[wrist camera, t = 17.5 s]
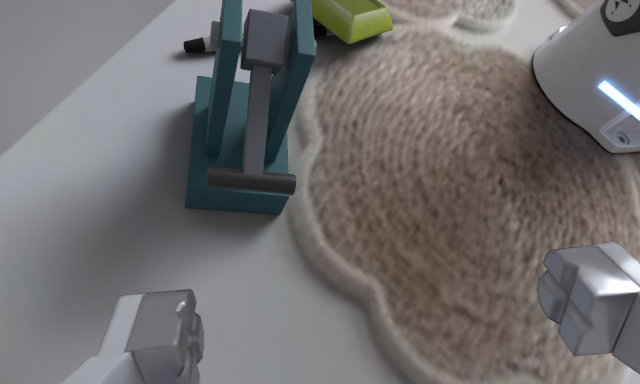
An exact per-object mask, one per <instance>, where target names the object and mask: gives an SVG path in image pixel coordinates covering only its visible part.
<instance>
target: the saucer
mask: <svg viewBox="0 0 640 384" xmlns="http://www.w3.org/2000/svg"><path fill="white" fill-rule="evenodd" d="M291 1H292V2H293V3H294V0H291ZM307 1H311V3H312V17H313V18H314V19H315V20H317V21H318V22H319V23H321V24H322V25H323V26H325V27H326V28H327V29H328V30H330V31H331V32H332V33H334V34H335V35H336V36H338V37H339V38H340V39H341V40H343V41H344V42H346V43H348V44H351V43H355V42H358V41H360V40H363V39H366V38H369V37H372V36H375V35H378V34H381V33H384V32H387V31H390V30H392V29H393V26H392V21H391V17H390V14H389V12H388V10H387V8H386V7H385V6H384V5H383V4H382V3H380V2H379V1H377V0H307Z"/></svg>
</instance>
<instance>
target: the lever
mask: <svg viewBox="0 0 640 384" xmlns="http://www.w3.org/2000/svg"><path fill="white" fill-rule="evenodd" d="M287 27H288V16H285V15H280V14H275V13H270V12H265V11H260V10H255V9H250V10H249V12H248V15H247V18H246V21H245V24H244V34H243V45H242V56H241V67H240V68H241V69H243V70H250V71H251V74H250V85H249V96H248V108H247V119H246V130H245V141H244V152H243V164H242V169H232V168H222V167H212V166H208V169H207V178H206V187H207V188H219V189H230V190H242V191H253V192H264V193H276V194H287V195H293V194H294V192H295V187H296V177H295V175H292V174H282V173H272V172H263V167H264V156H265V144H266V133H267V122H268V110H269V99H270V88H271V77H272V74H275V75H276V74H277V73H278V72H279V70H280V69H281V68H282V66H283V65H284V61H285V50H286V38H287Z"/></svg>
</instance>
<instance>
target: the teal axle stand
mask: <svg viewBox="0 0 640 384" xmlns="http://www.w3.org/2000/svg"><path fill="white" fill-rule="evenodd" d="M241 32H242V0H223V2H222V9H221V17H220V22H216V21H212V25H211V34H210V47H214V48H216V54H215V62H214V69H213V77H212V78H210V77H203V76H197V85H196V96H195V107H194V118H193V129H192V140H191V151H190V162H189V173H188V184H187V195H186V206H185V207H186V208H196V209H209V210H222V211H236V212H249V213H262V214H276V215H280V214H281V212H282V210H283V208H284V206H285V204H286V202H287V200H288V198H289V195H287V194H276V193H264V192H253V191H242V190H230V189H219V188H207V187H206V178H207V169H208V166H212V167H222V168H232V169H242V164H243V152H244V141H245V130H246V119H247V108H248V96H249V85H250V84H249V83H243V82H236V81H234V78H235V72H236V67H237V62H238V57H239V52H240V46H241ZM316 47H317V45H316V41H315V40H314V30H313V17H312V3H311V1H307V0H294V4H293V7H292V11H291V14H290V18H289V21H288V27H287V38H286V50H285V61H284V65H283V66H282V68H281V69H280V70H279V72H278V73H277V74H276V75H275V74H273V76H272V79H271V88H270V99H269V110H268V122H267V133H266V144H265V156H264V167H263V172H272V173H282V174H288V146H287V129H288V126H289V123H290V121H291V118H292V116H293V113H294V110H295V108H296V105H297V103H298V100H299V97H300V95H301V92H302V90H303V87H304V84H305V82H306V79H307V77H308V74H309V72H310V69H311V66H312V64H313V61H314V59H315V55H316Z"/></svg>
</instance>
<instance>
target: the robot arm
mask: <svg viewBox="0 0 640 384" xmlns="http://www.w3.org/2000/svg"><path fill="white" fill-rule="evenodd" d="M533 68H534V72H535V75H536V78H537V81H538V83H539V85H540V86H541V88H542V90H543V91H544V93H545V94H546V96H547V97H548V98H549V100H550V101H551V102H552V103H553V104H554V105H555V106H556V107H557V108H558V109H559V110H560V111H561V112H562V113H563V114H564V115H565V116H567V117H568V118H569V119H570V120H572V121H573V122H575V123H576V124H578V125H579V126H581V127H582V128H584V129H585V130H586V131H588V132H589V133H590V134H591V135H592V136H593V137H594V138H595V139H596V140H597V141H598V142H599V143H600V144H601V145H602V146H603V147H604V148H605V149H606V150H608V151H609V152H611V153H624V152H638V151H640V0H596V1H595V2H594V3H593V4H591V5H590V6H589V7H588V8H587V9H586V10H585V11H583V12H582V13H581V14H580V15H579V16H578V17H577V18H575V19H574V20H573V21H572V22H571V23H570V24H569V25H568V26H562V27H560V28H559V29H558V30H557V31H556V32H555V33H554V34H553V36H552V39H551V40H549V41H548V42H546V43H545V44H543V45H542V46H540V47H539V48H538V49H537V50H536V52H535V54H534V58H533ZM543 264H544V266H545V267H546V269H547V271H546V272H545V273H544V274H543V275H542V276H541V277H540V278H539V280H538V285H537V295H538V301H539V304H540V306H541V308H542V310H543V312H544V313H545V315H546V316H547V318H549V319H551V320H552V321H554V322H556V323H557V324H559V330H558V334H559V335H560V337H561V338H562V339H563V341H564V342H565V344H566V345H567V347H568V348H569V349H570V351H571V352H572V354H573V355H574V357H576V356H586V355H597V354H608V353H612V355H613V356H614V357H616V358H617V359H618V360H620V361H621V362H623V363H624V364H626V365H627V366H629V367H630V368H631V369H633V370H634V371H636V372H637V373H639V374H640V263H639V262H638V261H637V260H636V259H635V258H634V257H633V256H632V255H631V254H630V253H629V252H628V251H626V250H625V249H624V248H623V247H622V246H621V245H619V244H617V243H615V242H609V243H601V244H593V245H587V246H579V247H570V248H562V249H553V250H549V251H548V252H547V253H546V255H545V258H544V261H543ZM195 308H196V299H195V296H194V292H193V291H192V290H191V289H188V290H176V291H164V292H153V293H145V294H135V295H123V296H122V297H121V298H120V299H119V300H118V301H117V304H116V306H115V309H114V311H113V314H112V317H111V319H110V322H109V324H108V327H107V330H106V332H105V335H104V337H103V340H102V343H101V345H100V348H99V350H98V353H97V356H91V357H88V358H87V359H86V360H85V361H84V362H83V363H82V364H80V365H79V366H78V367H77V368H76V369H75V370H74V371H73V372H71V373H70V374H69V375H68V376H67V377H66V378H65V379H63V380H62V381H61V382H60V383H59V384H199V379H200V374H199V371H198V367H197V364H198V363H199V362H200V360H201V359H202V358H203V349H204V332H203V325H202V321H201V317H200V316H199V315H198V314H197V313H195Z"/></svg>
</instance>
